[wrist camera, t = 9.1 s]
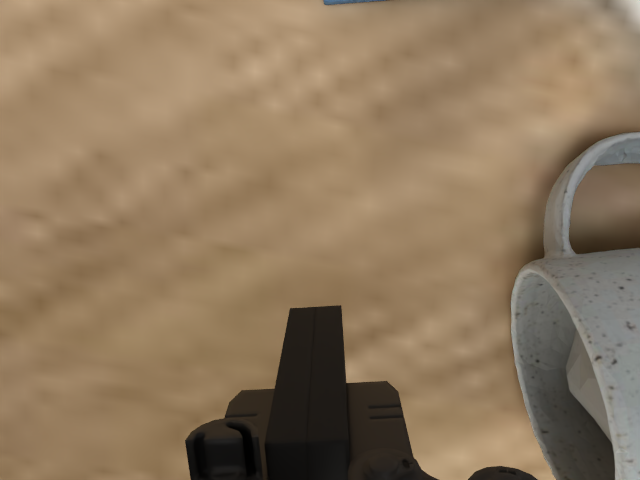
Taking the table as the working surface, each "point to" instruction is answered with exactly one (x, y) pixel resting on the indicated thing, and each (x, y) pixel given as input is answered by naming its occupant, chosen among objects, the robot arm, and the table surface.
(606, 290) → the ceramic mug
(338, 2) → the blue flat rectangular panel
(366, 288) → the table surface
